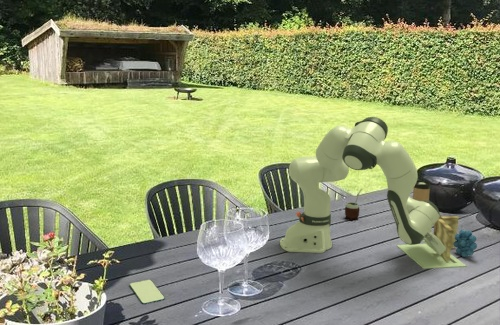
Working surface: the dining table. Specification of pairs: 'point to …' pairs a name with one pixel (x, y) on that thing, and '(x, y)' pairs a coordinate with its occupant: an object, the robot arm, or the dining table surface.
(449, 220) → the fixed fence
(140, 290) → the smartphone
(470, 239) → the grapes
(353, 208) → the mate gourd
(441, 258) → the board
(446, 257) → the gate panel
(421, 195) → the travel mug
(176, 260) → the dining table surface
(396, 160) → the robot arm
